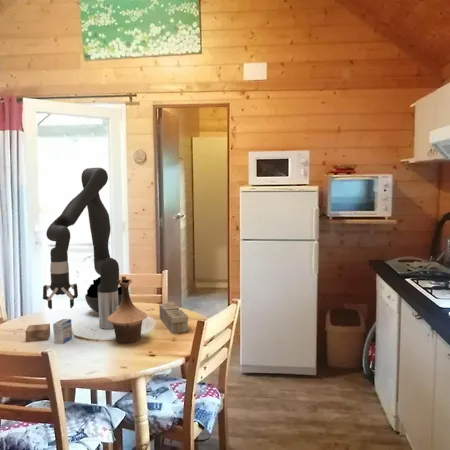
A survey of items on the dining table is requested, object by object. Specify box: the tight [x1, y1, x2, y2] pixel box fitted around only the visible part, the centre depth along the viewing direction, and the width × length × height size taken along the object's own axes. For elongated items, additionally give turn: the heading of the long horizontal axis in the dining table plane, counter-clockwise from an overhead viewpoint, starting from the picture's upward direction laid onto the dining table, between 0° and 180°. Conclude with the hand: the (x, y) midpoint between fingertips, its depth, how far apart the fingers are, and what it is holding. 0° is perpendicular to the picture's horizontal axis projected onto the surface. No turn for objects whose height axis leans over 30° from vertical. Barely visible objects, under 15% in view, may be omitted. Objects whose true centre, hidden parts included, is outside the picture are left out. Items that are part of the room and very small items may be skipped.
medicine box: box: [52, 318, 73, 344], centre depth 214 cm, size 8×4×9 cm, turn 168°
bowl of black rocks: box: [84, 276, 122, 314], centre depth 256 cm, size 20×20×19 cm
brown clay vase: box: [107, 275, 148, 345], centre depth 212 cm, size 18×17×28 cm
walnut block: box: [25, 323, 51, 343], centre depth 218 cm, size 9×9×5 cm
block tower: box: [158, 301, 189, 334], centre depth 233 cm, size 8×8×29 cm
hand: (61, 308), depth 212 cm, fingers open, 8 cm apart
